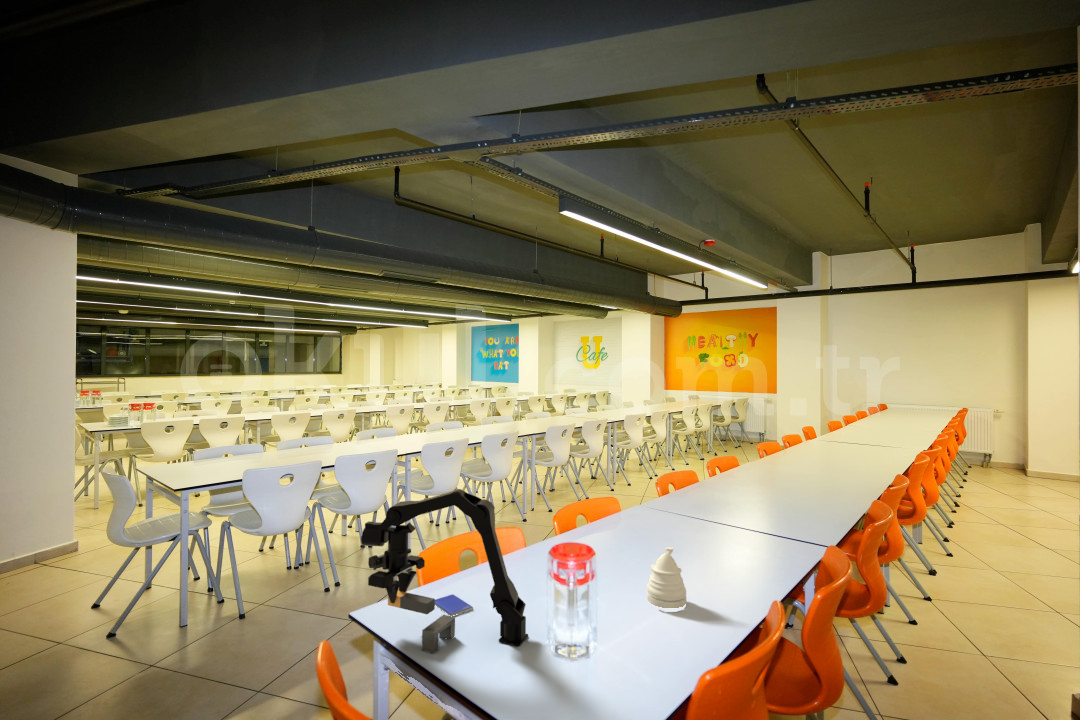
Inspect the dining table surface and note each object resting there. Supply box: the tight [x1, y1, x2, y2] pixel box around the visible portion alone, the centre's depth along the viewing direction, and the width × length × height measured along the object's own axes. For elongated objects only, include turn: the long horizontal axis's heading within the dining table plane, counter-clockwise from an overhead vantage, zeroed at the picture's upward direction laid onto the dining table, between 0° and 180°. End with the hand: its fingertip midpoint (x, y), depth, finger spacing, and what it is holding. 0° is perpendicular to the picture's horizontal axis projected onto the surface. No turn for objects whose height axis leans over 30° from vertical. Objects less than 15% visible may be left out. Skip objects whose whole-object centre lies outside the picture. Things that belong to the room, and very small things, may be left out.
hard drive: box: [435, 594, 474, 617], centre depth 163 cm, size 2×8×12 cm
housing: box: [421, 614, 456, 655], centre depth 140 cm, size 4×10×6 cm, turn 156°
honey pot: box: [646, 546, 687, 608], centre depth 167 cm, size 13×13×18 cm
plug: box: [387, 590, 436, 615], centre depth 145 cm, size 14×4×3 cm, turn 66°
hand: (397, 600), depth 147 cm, fingers closed on plug, 3 cm apart
